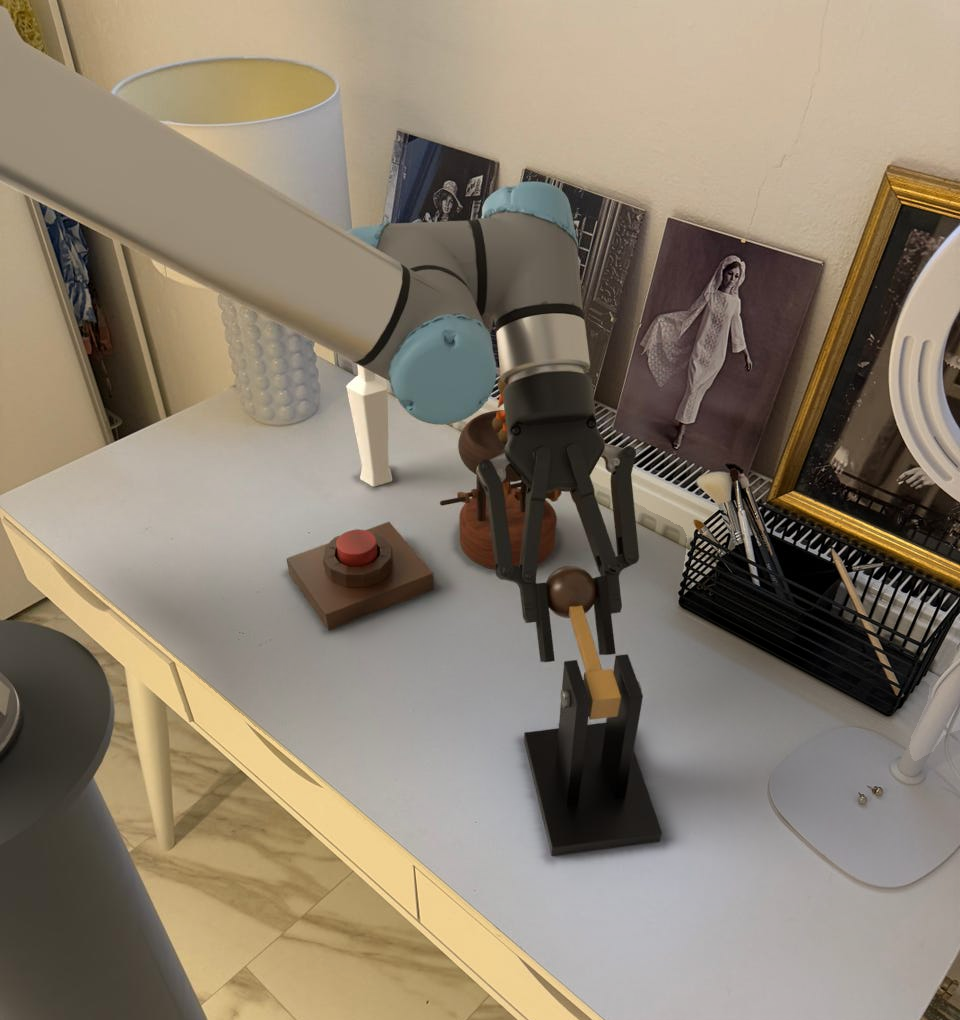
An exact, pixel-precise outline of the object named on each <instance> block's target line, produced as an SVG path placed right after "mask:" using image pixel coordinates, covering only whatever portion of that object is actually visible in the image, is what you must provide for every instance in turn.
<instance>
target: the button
mask: <svg viewBox="0 0 960 1020" xmlns="http://www.w3.org/2000/svg"><path fill="white" fill-rule="evenodd" d="M365 530H366V529H351V530H347V531H345V532H343V533H342V534H340V535H341V536H340V537H339V538H338V539H337V542H336V545H337V552H338V558H339V560H340V562H341V563H343V564H344V565H346V566H349V567H362V566H365V565H368V564H370V563H372V562H373V561H374V560H375V559H376V557H377V543H376V538H375V536H374V535H373V534H372V533H370V532H368V531H365Z"/></svg>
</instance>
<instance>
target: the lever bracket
mask: <svg viewBox="0 0 960 1020" xmlns="http://www.w3.org/2000/svg"><path fill="white" fill-rule="evenodd" d="M579 665H580V664H579V662H578V659H573V660H566V661H565V660H564V662H563V670H562V671H563V673H562V683H561V690H560V707H559V718H558V728H551V729H542V730H534V731H525V732H524V734H523V743H524V748H525V751H526V756H527V759H528V764H529V768H530V773H531V776H532V780H533V785H534V789H535V793H536V797H537V801H538V805H539V810H540V813H541V818H542V822H543V827H544V831H545V835H546V838H547V842H548V848H549V852H550V855H551V856H552V857H554V856H561V855H569V854H576V853H583V852H591V851H597V850H606V849H613V848H620V847H626V846H635V845H642V844H643V845H644V844H648V843H656V842H661V839H662V835H663V832H662V830H661V827H660V826H661V825H660V823H659V820H658V818H657V814H656V812H655V809H654V806H653V803H652V802H653V801H652V800H651V797H650V794H649V791H648V788H647V785H646V782H645V779H644V776H643V773H642V769H641V767H640V765H639V761H638V758H637V755H636V752H635V746H636V740H637V733H638V727H639V721H640V718H641V717H640V716H641V710H642V704H643V698H644V695H643V691H642V686H641V683H640V681H639V680H638V679H637V676H636V673H635V670H634V668H633V665H632V662H631V660H630V657H629V655H628V654H617V655H615V657H614V664H613V665H614V666H613V669H612V670H613V673H614V676H615V679H616V682H617V686H618V689H619V692H620V695H621V701H620V706H619V712H618V716H617V717H609V718H606V722H599V723H591V724H589V708H590V700H589V697H588V694H587V691H586V688H585V684H584V681H583V679H584V677H583V675H582V672H581V669H580V666H579Z"/></svg>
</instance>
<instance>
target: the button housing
mask: <svg viewBox="0 0 960 1020" xmlns="http://www.w3.org/2000/svg"><path fill="white" fill-rule="evenodd" d="M364 530H365V531H368V532H370V533H372V534H373V535H374V536H375V538H376V543H377V557H376V559H375V560H374V561H373V562H372V563H370V564H368V565H365V566H362V567H349V566H346V565H344V564H343V563H341V562H340V560H339V558H338V552H337V545H336V542H337V539H338V538H339V537H340V536H341V535H342V534H339V535H336V536H334V538H332V539H331V540H330V541H329V542H327V543H325V544H322V545H319V546H316V547H314V548H310V549H308V550H305V551H302V552H300V553H297V554H295V555H292V556H289V557H286V558H285V559H286V565H287V570H288V575H289V576H290V577H291V579H292V580H293V582H294V583H295V584H296V586H297V588H298V590H300V591H301V593H302V595H303V596H304V598H305V599H306V600H307V602H308V603H309V605H310V606H311V608H312V609H313V611H314V612H315V613H316V615H317V617H318V618H319V619H320V620H321V622H322V623H323V626H324V627H325V628H326V629H327V630H328V631H331V630H334V629H335V628H338V627H340V626H341V627H342V626H343V625H346V624H349V623H351V622H354V621H356V620H359V619H362V618H364V617H366V616H369V615H372V614H374V613H376V612H379V611H381V610H384V609H387V608H389V607H392V606H394V605H396V604H399V603H403V602H405V601H407V600H410V599H413V598H415V597H417V596H420V595H423V594H425V593H427V592H430V591H432V590H434V589H435V579H434V572H433V571H432V570H431V569H430V568H429V566H428V565H427V564H426V563H425V562H424V560H423V559H422V558H421V557H420V556H419V555H418V553H417V552H416V551H415V550H414V548H412V547H411V546H410V544H409V543H408V542H407V540H406V539H405V538H404V537H403V536H402V535H401V533H399V531H398V530H397V529H396V528H395V527H394V526H393V524H392V523H391V522H390V521H386V522H384V523H382V524H378V525H376V526H375V525H374V526H372V527H370V528H367V529H364Z"/></svg>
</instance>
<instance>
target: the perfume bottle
mask: <svg viewBox="0 0 960 1020" xmlns="http://www.w3.org/2000/svg"><path fill="white" fill-rule="evenodd" d="M356 365H357V376H355V377H354V378H353V379H351V381H349V382H348V384H346V392H347V397H348V401H349V406H350V407H349V408H350V411H351V412H350V413H351V417H352V423H353V427H354V432H355V437H356V442H357V446H358V447H357V448H358V453H359V458H360V463H361V471H360V476H359V479H360V480H361V481H362V482H364V483H366V484H368V485H369V486H371V487H378V486H381V485H385V484H389V483H391V482H393V476H392V471H391V468H390V465H389V390H388V389H389V388H388V383H387V380H386V379H385V378H383V377H381V376H379V375H377V374H375V373H373V372H371V371H369V370H368V369H366V368H364V367H362V366H360V365H358V364H356Z"/></svg>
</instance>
